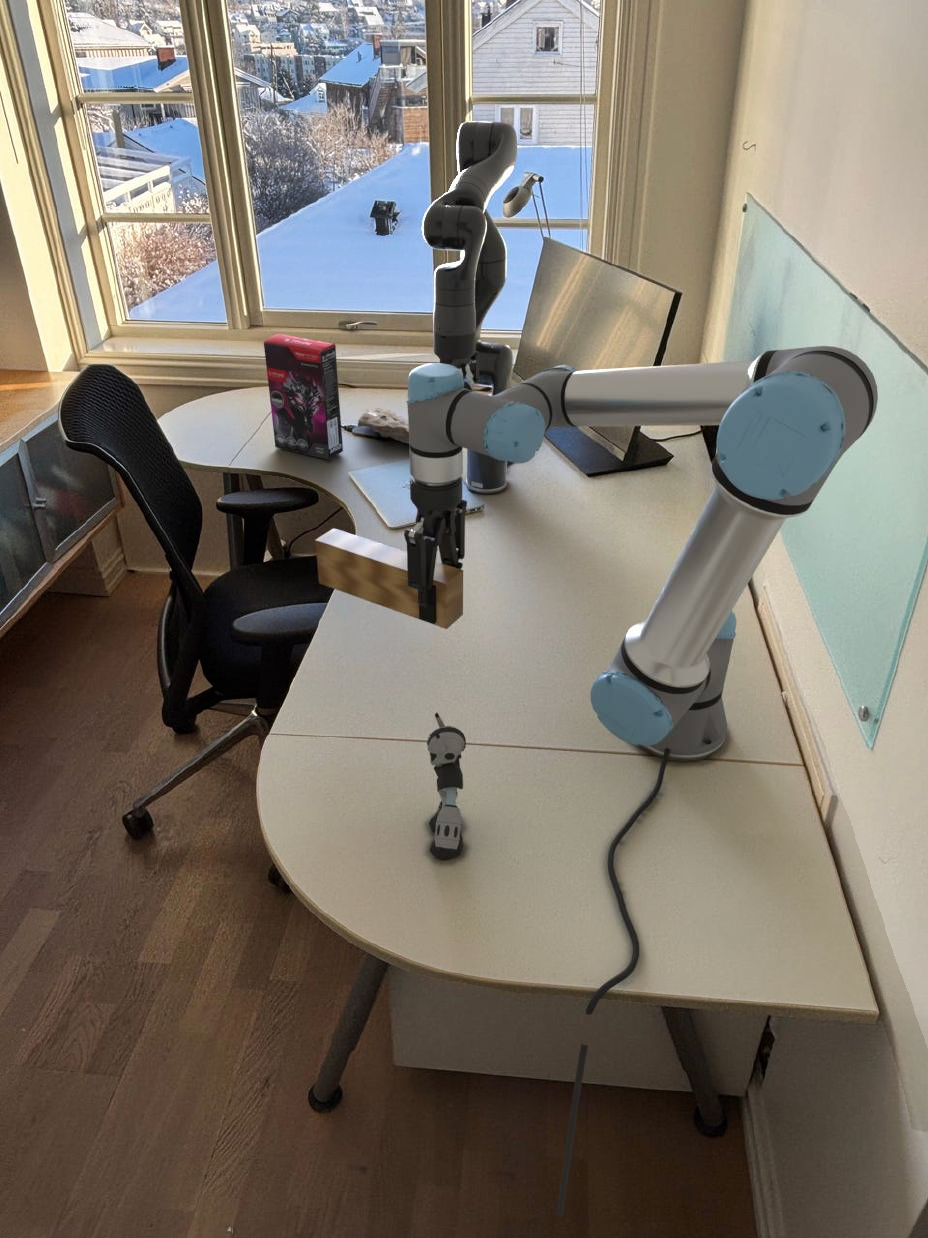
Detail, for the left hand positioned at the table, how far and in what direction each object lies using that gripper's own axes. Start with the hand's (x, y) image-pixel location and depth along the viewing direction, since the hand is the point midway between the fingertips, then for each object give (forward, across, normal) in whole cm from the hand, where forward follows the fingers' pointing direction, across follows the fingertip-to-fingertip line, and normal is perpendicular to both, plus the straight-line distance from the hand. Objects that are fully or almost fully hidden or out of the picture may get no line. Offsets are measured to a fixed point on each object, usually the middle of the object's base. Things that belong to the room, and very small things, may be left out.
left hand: (454, 414), depth 172 cm
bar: (+16, +38, +11) cm, 43 cm away
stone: (+30, -44, -44) cm, 69 cm away
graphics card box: (+30, -26, -58) cm, 70 cm away
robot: (+30, +67, +39) cm, 83 cm away
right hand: (+15, +39, +20) cm, 46 cm away
